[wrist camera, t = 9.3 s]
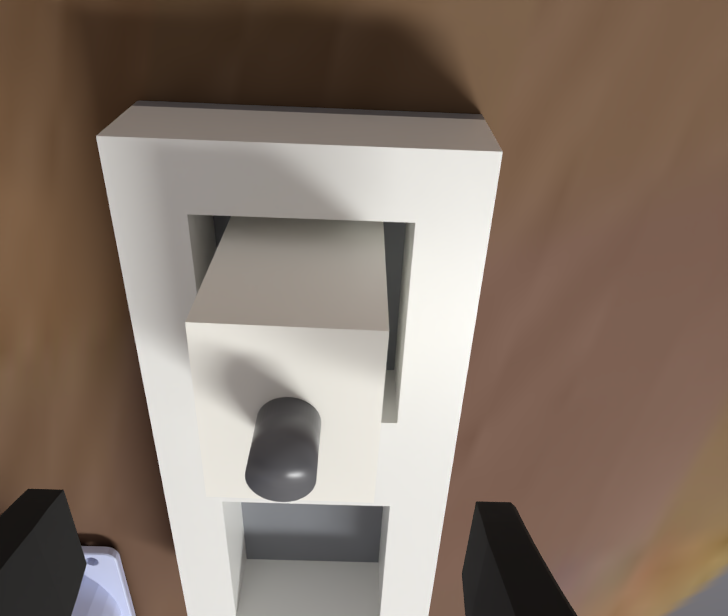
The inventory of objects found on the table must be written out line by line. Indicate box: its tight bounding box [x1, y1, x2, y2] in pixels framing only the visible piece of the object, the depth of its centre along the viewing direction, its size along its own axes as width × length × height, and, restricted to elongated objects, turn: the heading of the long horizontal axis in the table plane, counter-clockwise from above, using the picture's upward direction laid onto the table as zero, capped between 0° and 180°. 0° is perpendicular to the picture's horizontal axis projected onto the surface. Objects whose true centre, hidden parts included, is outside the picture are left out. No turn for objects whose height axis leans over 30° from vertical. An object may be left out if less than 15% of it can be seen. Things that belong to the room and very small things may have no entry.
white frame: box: [96, 101, 503, 616], centre depth 21 cm, size 9×20×3 cm, turn 178°
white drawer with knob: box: [185, 216, 389, 503], centre depth 16 cm, size 4×5×8 cm
